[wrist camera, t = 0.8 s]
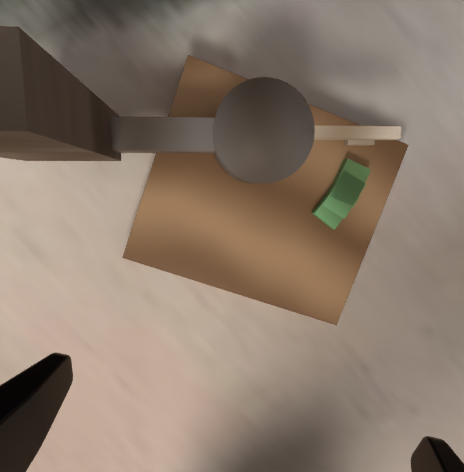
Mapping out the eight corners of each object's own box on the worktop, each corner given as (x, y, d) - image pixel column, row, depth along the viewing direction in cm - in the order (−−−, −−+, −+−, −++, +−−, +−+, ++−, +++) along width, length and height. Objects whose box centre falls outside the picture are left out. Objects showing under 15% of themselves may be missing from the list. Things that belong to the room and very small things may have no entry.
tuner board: (327, 316, 24) (340, 329, 22) (127, 252, 22) (120, 259, 20) (394, 147, 23) (414, 143, 21) (188, 64, 21) (187, 50, 19)
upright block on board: (374, 95, 20) (574, -5, 10) (369, 182, 21) (551, 180, 10) (20, 89, 19) (-228, -45, 8) (28, 185, 19) (-187, 185, 8)
